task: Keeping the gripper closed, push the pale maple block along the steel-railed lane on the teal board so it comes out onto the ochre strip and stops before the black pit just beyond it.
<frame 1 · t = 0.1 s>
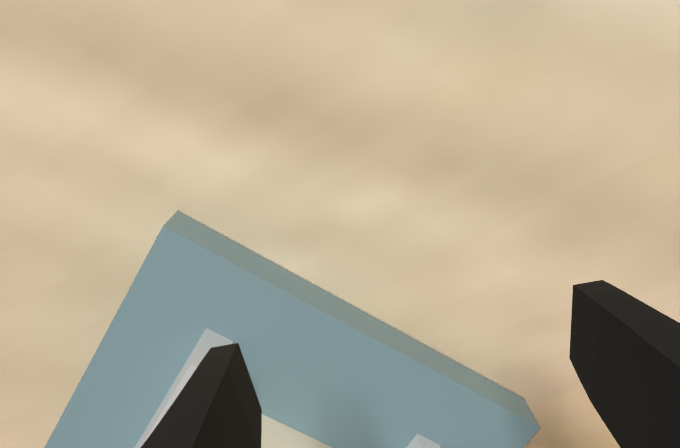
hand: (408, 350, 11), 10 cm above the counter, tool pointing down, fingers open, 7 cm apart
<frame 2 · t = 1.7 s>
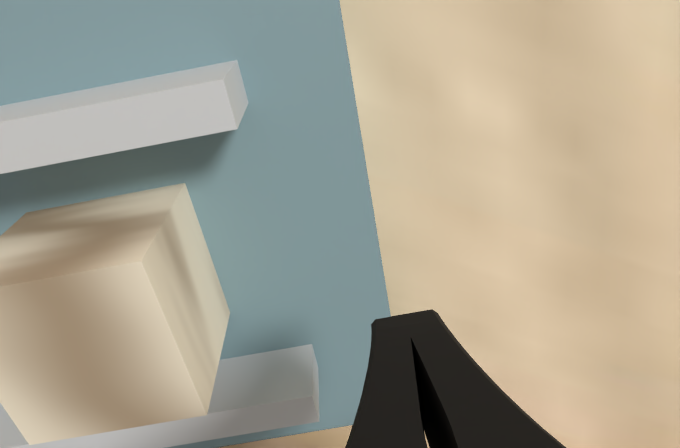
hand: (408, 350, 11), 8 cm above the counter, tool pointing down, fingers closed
block: (134, 265, 17), point 2 cm above the counter, touching board
board: (71, 250, 19), on the counter
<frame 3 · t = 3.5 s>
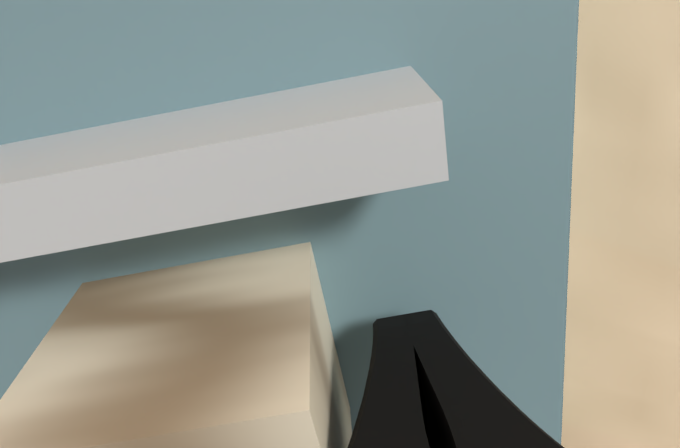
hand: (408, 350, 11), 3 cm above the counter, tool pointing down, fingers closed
block: (228, 350, 12), point 2 cm above the counter, touching board, gripper
board: (131, 319, 14), on the counter
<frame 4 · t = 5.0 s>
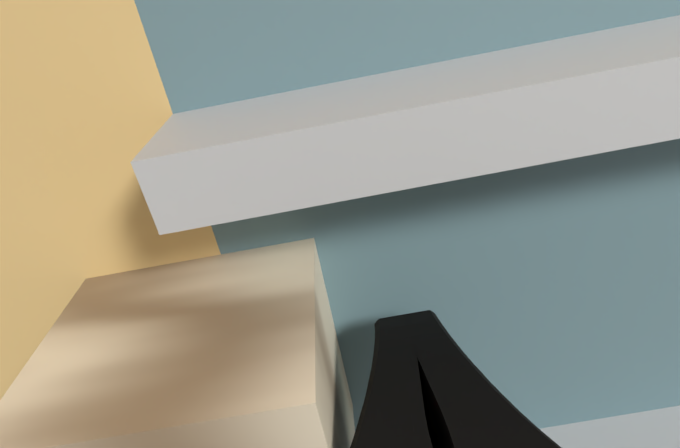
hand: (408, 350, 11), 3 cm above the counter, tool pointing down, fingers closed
block: (230, 347, 12), point 2 cm above the counter, touching board, gripper
board: (442, 264, 14), on the counter
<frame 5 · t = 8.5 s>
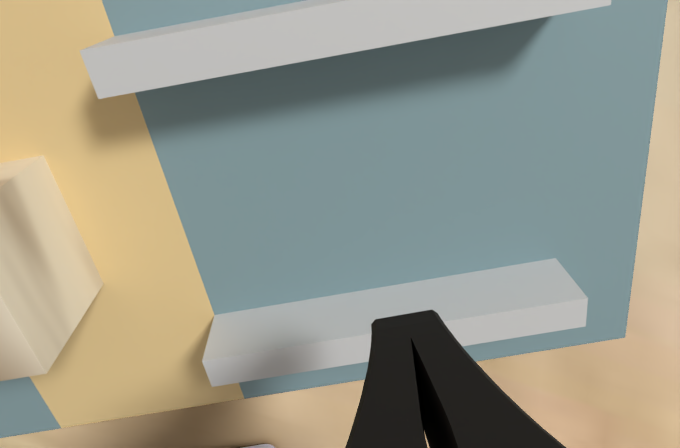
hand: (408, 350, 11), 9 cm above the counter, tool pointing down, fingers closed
block: (4, 236, 17), point 2 cm above the counter, touching board
board: (321, 164, 19), on the counter
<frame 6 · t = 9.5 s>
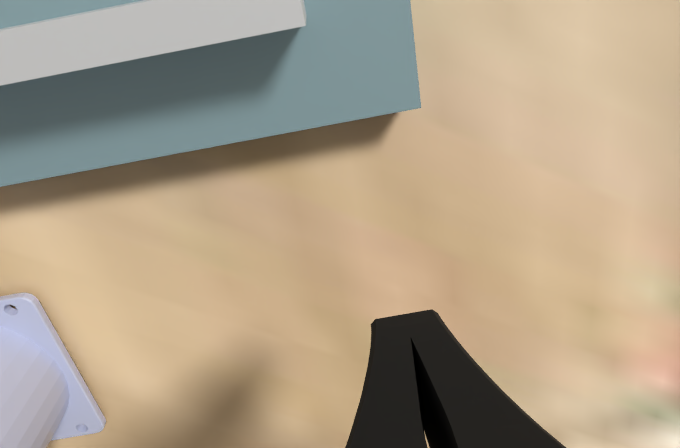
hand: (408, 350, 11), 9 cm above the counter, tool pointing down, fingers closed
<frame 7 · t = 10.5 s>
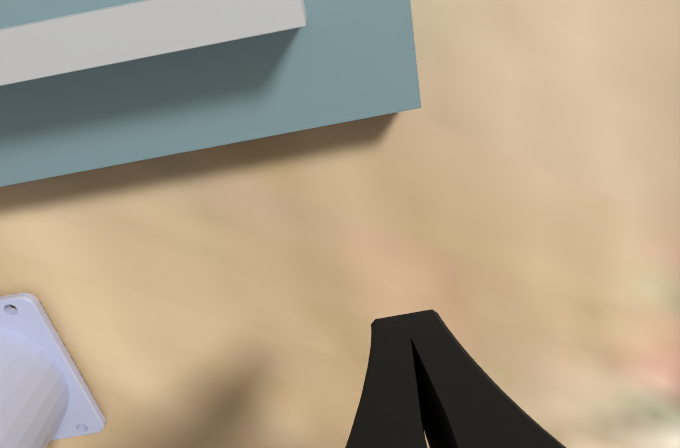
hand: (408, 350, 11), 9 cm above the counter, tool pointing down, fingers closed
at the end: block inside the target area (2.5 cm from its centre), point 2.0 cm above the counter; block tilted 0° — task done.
